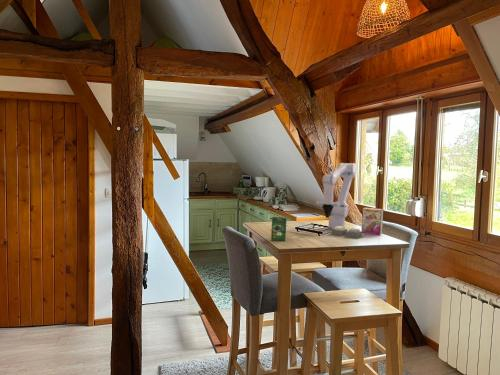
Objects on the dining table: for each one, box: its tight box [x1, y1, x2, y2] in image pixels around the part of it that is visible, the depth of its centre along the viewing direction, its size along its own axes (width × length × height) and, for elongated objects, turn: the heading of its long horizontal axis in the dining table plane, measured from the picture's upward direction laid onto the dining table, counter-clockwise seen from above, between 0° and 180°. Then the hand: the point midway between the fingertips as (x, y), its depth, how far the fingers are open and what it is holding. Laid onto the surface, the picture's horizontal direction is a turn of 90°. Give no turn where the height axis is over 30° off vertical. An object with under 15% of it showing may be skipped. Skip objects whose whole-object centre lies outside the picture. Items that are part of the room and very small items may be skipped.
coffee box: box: [270, 216, 287, 242], centre depth 217 cm, size 8×3×13 cm, turn 88°
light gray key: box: [348, 227, 361, 233], centre depth 223 cm, size 4×4×3 cm
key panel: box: [329, 228, 365, 240], centre depth 226 cm, size 18×9×4 cm, turn 51°
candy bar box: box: [361, 207, 384, 236], centre depth 233 cm, size 11×5×16 cm, turn 59°
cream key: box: [334, 226, 346, 231], centre depth 229 cm, size 4×4×3 cm
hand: (327, 217), depth 234 cm, fingers closed
